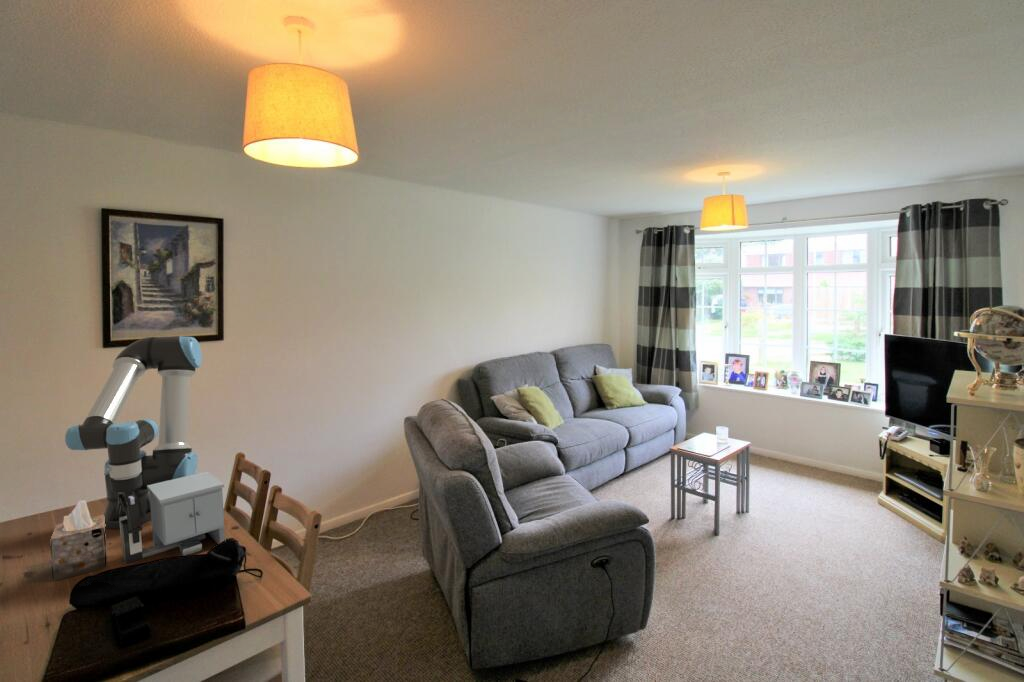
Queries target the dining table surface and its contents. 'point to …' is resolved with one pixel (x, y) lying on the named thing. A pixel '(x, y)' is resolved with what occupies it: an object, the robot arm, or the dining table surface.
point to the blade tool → (149, 551)
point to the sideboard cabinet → (187, 508)
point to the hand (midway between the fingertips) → (131, 544)
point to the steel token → (190, 546)
